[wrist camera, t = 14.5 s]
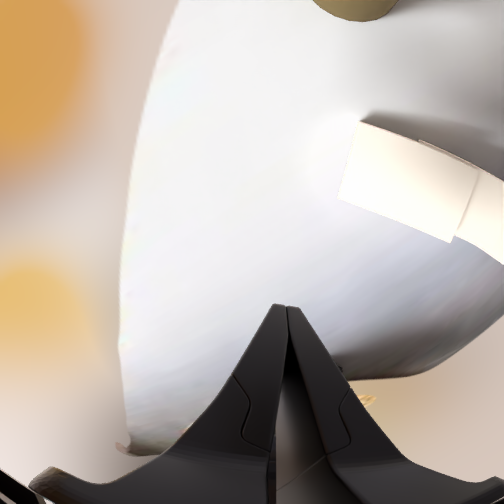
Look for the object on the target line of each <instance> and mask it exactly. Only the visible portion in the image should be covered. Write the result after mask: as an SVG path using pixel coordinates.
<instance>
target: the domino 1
mask: <svg viewBox="0 0 504 504" xmlns="http://www.w3.org/2000/svg"><path fill="white" fill-rule="evenodd" d="M478 173H479V171H478V170H476V169H475V168H473V167H472V166H470V165H468V164H466V163H464V162H462V161H460V160H458V159H456V158H454V157H451V156H449V155H447V154H445V153H443V152H441V151H438V150H436V149H434V148H431V147H429V146H427V145H424V144H422V143H419V142H417V141H415V140H412V139H409V138H407V137H404V136H402V135H399V134H396V133H394V132H391V131H388V130H385V129H382V128H379V127H376V126H373V125H370V124H367V123H364V122H361V121H358V122H357V126H356V130H355V134H354V138H353V142H352V146H351V150H350V154H349V157H348V161H347V165H346V169H345V172H344V176H343V179H342V183H341V187H340V190H339V194H338V197H337V199H340V200H343V201H346V202H349V203H352V204H354V205H357V206H360V207H363V208H365V209H368V210H371V211H373V212H376V213H378V214H381V215H384V216H386V217H389V218H391V219H394V220H396V221H399V222H401V223H404V224H406V225H409V226H411V227H414V228H416V229H418V230H421V231H423V232H425V233H428V234H430V235H432V236H435V237H437V238H439V239H442V240H444V241H446V242H448V243H451V241H452V238H453V236H454V234H455V232H456V230H457V227H458V225H459V223H460V220H461V218H462V216H463V213H464V211H465V208H466V206H467V203H468V201H469V198H470V195H471V193H472V190H473V187H474V184H475V182H476V179H477V176H478Z"/></svg>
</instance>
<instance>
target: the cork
mask: <svg viewBox="0 0 504 504" xmlns="http://www.w3.org/2000/svg"><path fill="white" fill-rule="evenodd" d="M313 1H314V2H315V3H316V4H317V5H318V6H319V7H320V8H322V9H323V10H325V11H327V12H329V13H330V14H332V15H334V16H336V17H339V18H342V19H345V20H348V21H358V22H366V21H372V20H377V19H378V18H380V17H382V16H384V15H385V14H387V13H388V12H389V10H390V9H391V8H392V7H393V6H394V5H395V4H396V3H397V2H398V0H313Z"/></svg>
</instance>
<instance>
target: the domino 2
mask: <svg viewBox="0 0 504 504" xmlns="http://www.w3.org/2000/svg"><path fill="white" fill-rule="evenodd" d="M418 142H419V143H422V144H424V145H427V146H429V147H431V148H434V149H436V150H438V151H441V152H443V153H445V154H447V155H449V156H451V157H454V158H456V159H458V160H460V161H462V162H464V163H466V164H468V165H470V166H472V167H473V168H475V169H476V170H478V171H479V173H478V176H477V179H476V182H475V184H474V187H473V190H472V193H471V195H470V198H469V201H468V203H467V206H466V208H465V211H464V213H463V216H462V218H461V220H460V223H459V225H458V227H457V230H456V232H455V234H454V235H455V236H457V237H459V238H462V239H464V240H466V241H468V242H470V243H472V244H474V245H476V246H478V247H480V248H482V249H484V250H486V251H488V252H490V253H491V251H492V249H493V247H494V245H495V243H496V241H497V239H498V237H499V235H500V232H501V230H502V228H503V226H504V181H502V180H501V179H499V178H497V177H495V176H494V175H492V174H490V173H488V172H487V171H485V170H483V169H481V168H479V167H477V166H476V165H474V164H472V163H470V162H468V161H466V160H464V159H462V158H460V157H458V156H456V155H454V154H452V153H449V152H447V151H445V150H443V149H441V148H439V147H436V146H434V145H432V144H430V143H427V142H425V141H423V140H420V139H419V140H418Z"/></svg>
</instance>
